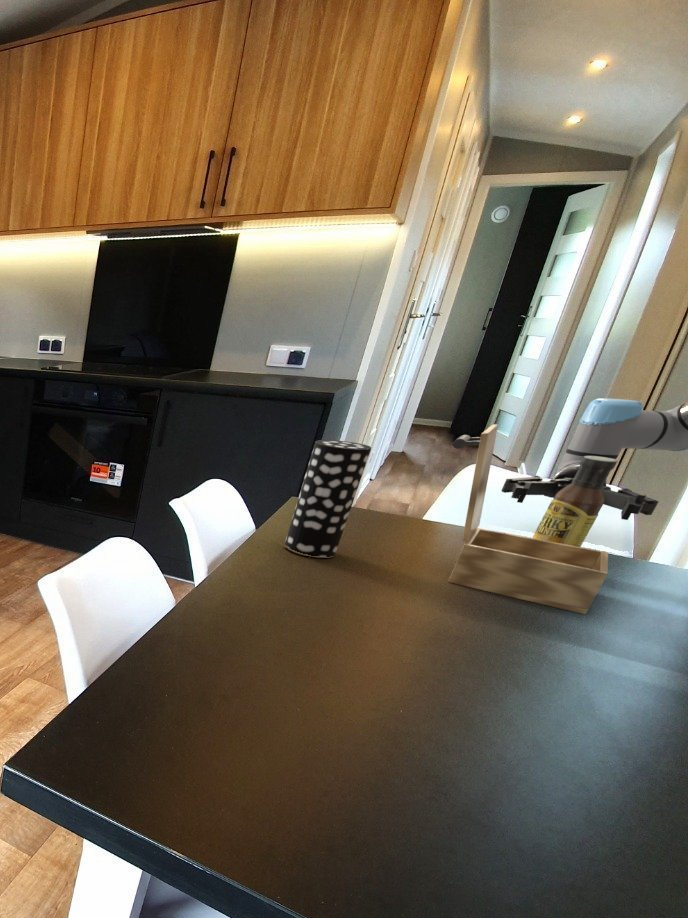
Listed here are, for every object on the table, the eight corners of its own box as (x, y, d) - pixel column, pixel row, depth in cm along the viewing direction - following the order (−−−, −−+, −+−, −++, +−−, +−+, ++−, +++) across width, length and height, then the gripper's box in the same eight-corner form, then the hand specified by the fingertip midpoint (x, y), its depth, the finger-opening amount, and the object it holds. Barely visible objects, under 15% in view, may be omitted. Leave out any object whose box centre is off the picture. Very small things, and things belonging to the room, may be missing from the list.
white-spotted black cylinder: (344, 559, 116) (383, 450, 108) (299, 558, 116) (334, 448, 108) (317, 544, 124) (351, 440, 115) (274, 543, 124) (305, 439, 115)
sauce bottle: (511, 560, 117) (561, 452, 109) (544, 561, 117) (597, 453, 109) (543, 573, 112) (599, 461, 103) (578, 574, 112) (637, 462, 103)
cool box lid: (498, 424, 107) (463, 425, 110) (488, 433, 98) (451, 434, 102) (479, 525, 112) (446, 523, 115) (468, 541, 104) (433, 539, 107)
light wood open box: (587, 590, 105) (608, 552, 102) (585, 614, 96) (607, 573, 93) (460, 562, 116) (475, 527, 113) (447, 582, 107) (464, 544, 104)
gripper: (660, 516, 120) (665, 541, 107) (488, 490, 136) (474, 508, 123) (682, 477, 117) (690, 497, 104) (503, 455, 133) (491, 469, 120)
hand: (573, 503), depth 113 cm, fingers open, 13 cm apart
